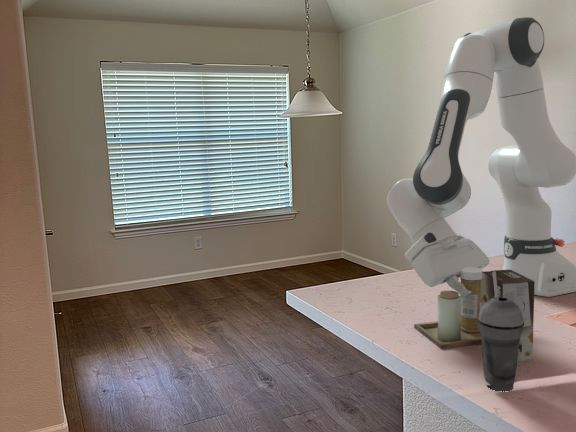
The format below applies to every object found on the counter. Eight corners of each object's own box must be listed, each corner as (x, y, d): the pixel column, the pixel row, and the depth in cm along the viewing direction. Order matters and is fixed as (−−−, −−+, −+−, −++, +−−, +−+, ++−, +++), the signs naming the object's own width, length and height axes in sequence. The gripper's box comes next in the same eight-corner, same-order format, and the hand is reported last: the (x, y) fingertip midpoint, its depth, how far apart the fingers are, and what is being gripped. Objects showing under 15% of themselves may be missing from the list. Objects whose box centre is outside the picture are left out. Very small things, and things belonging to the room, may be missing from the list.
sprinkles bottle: (486, 330, 112) (487, 268, 110) (473, 335, 109) (474, 272, 107) (468, 324, 116) (468, 265, 114) (454, 329, 113) (455, 268, 111)
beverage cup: (518, 400, 84) (522, 280, 81) (472, 390, 88) (473, 275, 85) (525, 381, 91) (528, 269, 88) (481, 372, 94) (483, 265, 91)
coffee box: (534, 365, 97) (537, 281, 94) (501, 367, 96) (502, 283, 94) (509, 345, 106) (511, 268, 103) (478, 348, 105) (480, 270, 103)
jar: (453, 333, 111) (453, 288, 109) (465, 341, 106) (465, 295, 105) (433, 336, 110) (433, 291, 108) (444, 344, 105) (444, 297, 104)
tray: (480, 324, 118) (480, 316, 118) (512, 343, 106) (513, 335, 106) (414, 331, 115) (414, 324, 115) (440, 353, 103) (440, 344, 103)
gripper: (454, 242, 125) (491, 290, 119) (399, 257, 112) (437, 311, 106) (471, 226, 121) (511, 274, 115) (416, 239, 108) (456, 294, 102)
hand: (475, 292), depth 110 cm, fingers closed on sprinkles bottle, 4 cm apart
